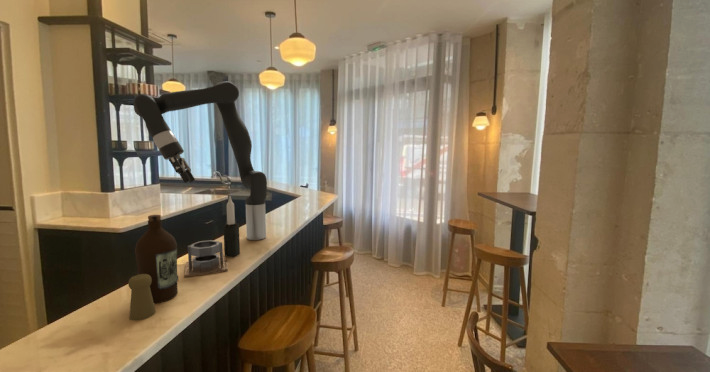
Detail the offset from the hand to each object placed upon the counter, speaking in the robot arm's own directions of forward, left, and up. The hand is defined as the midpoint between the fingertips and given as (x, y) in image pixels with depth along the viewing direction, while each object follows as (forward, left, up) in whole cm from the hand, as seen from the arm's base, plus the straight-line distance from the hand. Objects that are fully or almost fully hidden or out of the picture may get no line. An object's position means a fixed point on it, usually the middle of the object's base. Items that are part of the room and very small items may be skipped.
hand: (190, 181), depth 128 cm
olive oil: (+34, -9, -31) cm, 47 cm away
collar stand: (+14, +4, -31) cm, 34 cm away
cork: (+44, -12, -31) cm, 55 cm away
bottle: (+3, +14, -31) cm, 35 cm away
